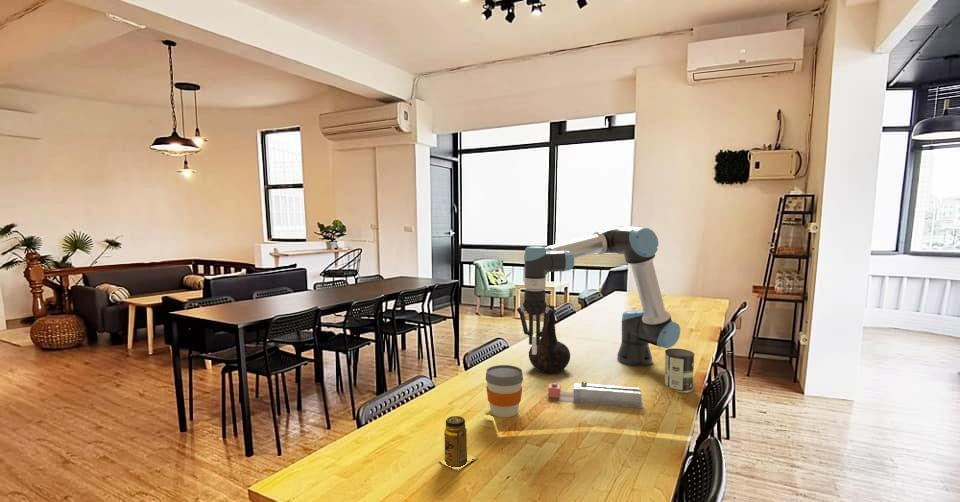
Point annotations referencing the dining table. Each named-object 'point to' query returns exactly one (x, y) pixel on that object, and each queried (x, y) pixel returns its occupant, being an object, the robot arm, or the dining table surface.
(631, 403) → the grey long bar
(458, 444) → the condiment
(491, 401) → the reusable coffee cup
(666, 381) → the coffee can
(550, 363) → the dark brown vase
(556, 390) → the tab
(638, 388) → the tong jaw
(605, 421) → the dining table surface
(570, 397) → the board
